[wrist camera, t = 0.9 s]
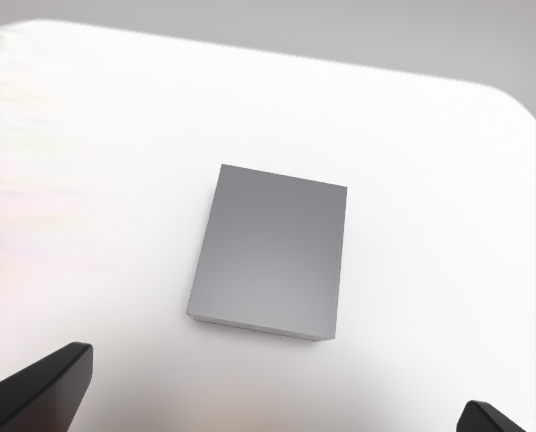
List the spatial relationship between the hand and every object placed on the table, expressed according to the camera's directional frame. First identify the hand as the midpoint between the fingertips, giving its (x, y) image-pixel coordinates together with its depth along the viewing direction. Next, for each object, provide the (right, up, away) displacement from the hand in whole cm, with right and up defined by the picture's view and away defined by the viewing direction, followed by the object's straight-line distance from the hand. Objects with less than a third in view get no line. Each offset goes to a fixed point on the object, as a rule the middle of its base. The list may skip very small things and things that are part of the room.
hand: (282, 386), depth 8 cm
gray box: (0, +1, +13) cm, 13 cm away
